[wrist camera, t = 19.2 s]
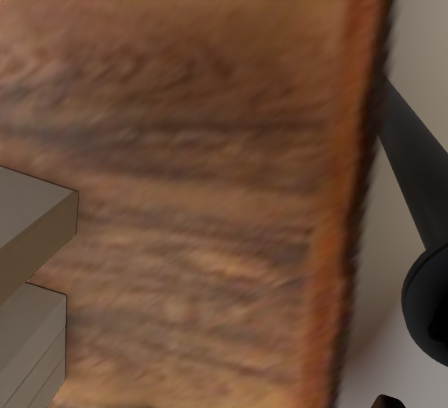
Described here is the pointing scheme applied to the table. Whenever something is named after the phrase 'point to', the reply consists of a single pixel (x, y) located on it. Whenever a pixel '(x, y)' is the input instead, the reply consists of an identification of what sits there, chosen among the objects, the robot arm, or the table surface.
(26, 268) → the book
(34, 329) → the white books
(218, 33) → the table surface
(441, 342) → the robot arm
